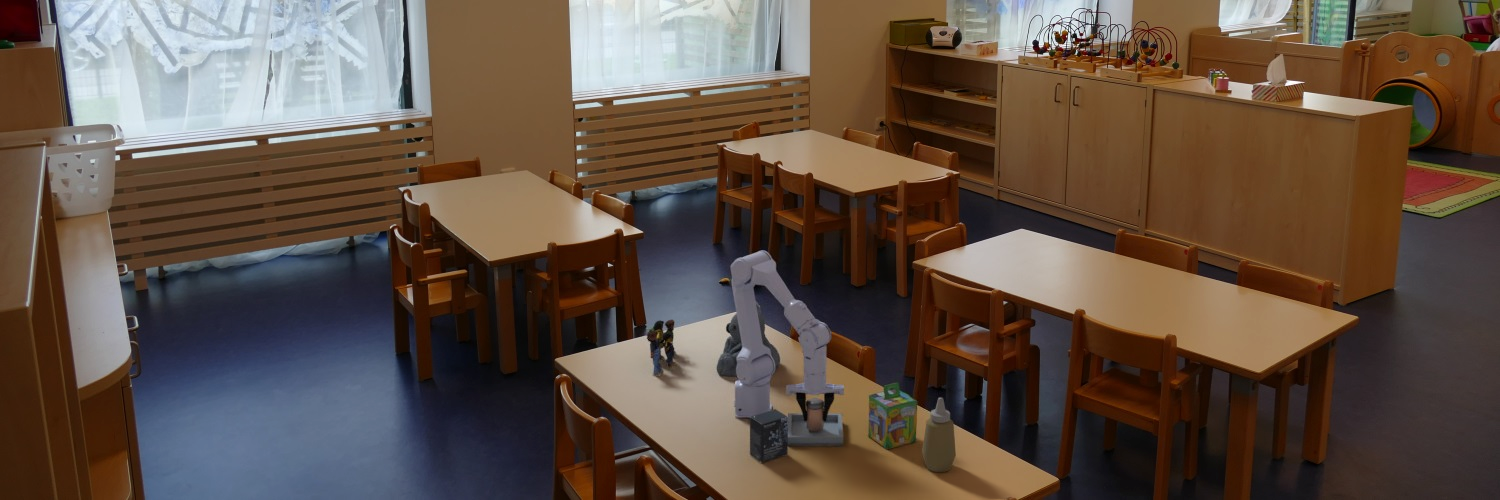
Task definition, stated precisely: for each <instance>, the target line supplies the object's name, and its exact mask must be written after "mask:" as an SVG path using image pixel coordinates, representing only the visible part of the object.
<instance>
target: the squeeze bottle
mask: <svg viewBox="0 0 1500 500" xmlns="http://www.w3.org/2000/svg"><path fill="white" fill-rule="evenodd" d="M935 405H936V406H935V409H931V411H930V418H928V419H927V420H926V421H925V422H926V423H925V429H924V436H923V442H922V450H921V453H922V454H921V455H922V458H923V461H924V464H925V467H926V468H927V470H929V471H931V472H935V473H945V472H948V471H950V470H951V468H952V466H953V464H954V461H955V458H956V457H957V455H956V453H957V452H956V440H955V439H956V437H955V425H954V421H953V420H952V419H951V412H950V411H949V410H947V409H946V407H945V406H946V405H945V401H944V397H938V398H937V402H936V404H935Z"/></svg>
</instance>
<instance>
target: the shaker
mask: <svg viewBox="0 0 1500 500" xmlns="http://www.w3.org/2000/svg"><path fill="white" fill-rule="evenodd" d="M806 415H807V421H806V427H807V429H808V430H811V431H819V430H822V429H823V428H824V399H821V398H818V397H817V398H816V397H814V398H809V399H806Z"/></svg>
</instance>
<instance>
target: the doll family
mask: <svg viewBox="0 0 1500 500" xmlns="http://www.w3.org/2000/svg"><path fill="white" fill-rule="evenodd" d="M675 323H676V322H675V320H674V319H669V320H667V321H664V320H660V319H659V320H657V321H655V323H654V325H653V326H652V327H651V328H648V327H646V330H648V331H647V333H646V335H645V336H646V340H647V342H649V346H650V347H649V350H650V359H652V364H653V371H652V376H654V377H661V376H662V375H663V374H662V373H664V369H663V368H662V365H661V364H660V363H664V359H665V356H666V359H665V363H666V364H667V366H666V367H665V369H666V370H675V369H676V367H675V366H677V365H678V363H677V362H676V361H674V360H673V359H674V358H676V357H678V355H677V352H676V350H675V347H674V336H675V335H674V328H675ZM664 326H665V327H666V331H664V330H663V328H664ZM662 349H664V353H665V356H663V355H662V354H661V352H662Z"/></svg>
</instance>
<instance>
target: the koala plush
mask: <svg viewBox="0 0 1500 500" xmlns="http://www.w3.org/2000/svg"><path fill="white" fill-rule="evenodd" d="M756 307H757V313H758V319H759V324H760V330H761V336H762V342H763V345H764V346H766V347H768V348H769V349H770V351H771V355H772V358H773V359H774V361H775V366H776V368H775V370H776V369H777V368H778V367H779V365H780V364H781V356H780V354H779V351H778V349H777V348H776V347H775V346H774V345H773V344H772V343H771V342H770V340H768V338H767V337H766V336H767V335H766V334H765V330H766V322H765V321H766V320H765V317H764V316H763V313H761V305H759V303H758V301H756ZM725 330H726V333H728V334H729V335H730V336H728V337H727V338H726V340H725V343H724V346H723V352H722V353H721V354H720V356H719V358H718V361H717V364H716V373H717V374H719V375H721V376H725V377H726V376H727V377H736V376H737V374H736V367H737V360H736V358H737V356H738V354H739V353H740V351H741V349H742V342H741V336H740V330H739V325H738V319H737V313H735V314H734V315H733V316H732V317H731V320H730V322H728V323H727V324H726V326H725Z"/></svg>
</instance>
